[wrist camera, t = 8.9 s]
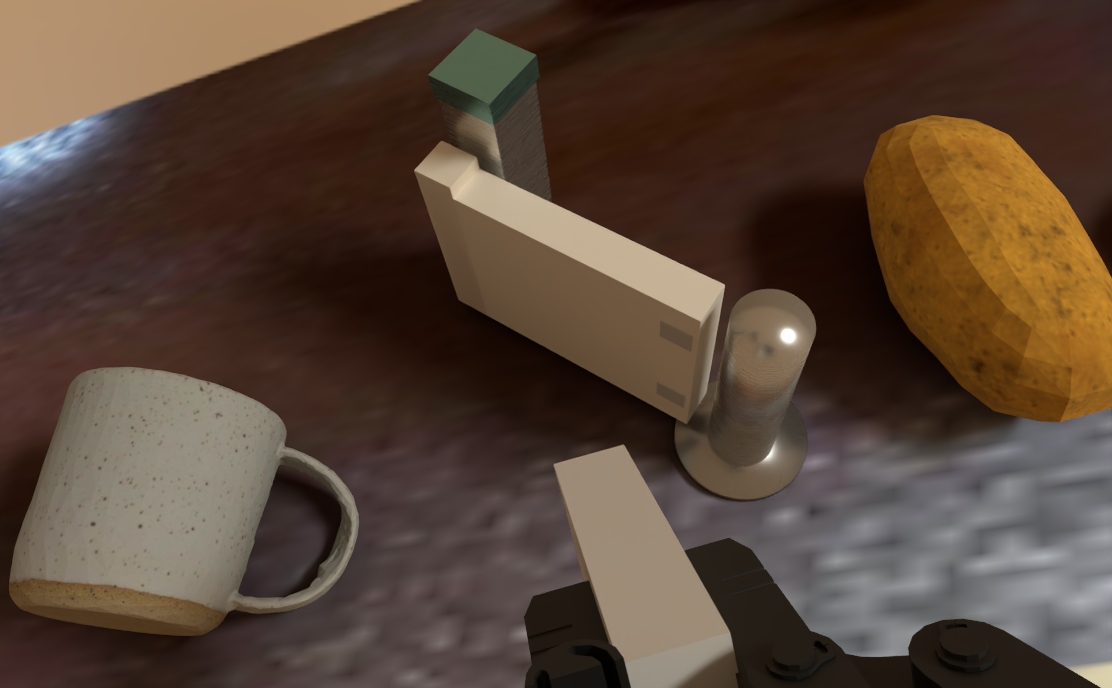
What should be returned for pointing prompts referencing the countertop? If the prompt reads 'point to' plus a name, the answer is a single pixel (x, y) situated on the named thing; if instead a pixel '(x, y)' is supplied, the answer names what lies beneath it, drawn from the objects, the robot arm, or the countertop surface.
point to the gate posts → (756, 319)
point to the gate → (573, 284)
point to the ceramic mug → (159, 506)
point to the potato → (991, 268)
